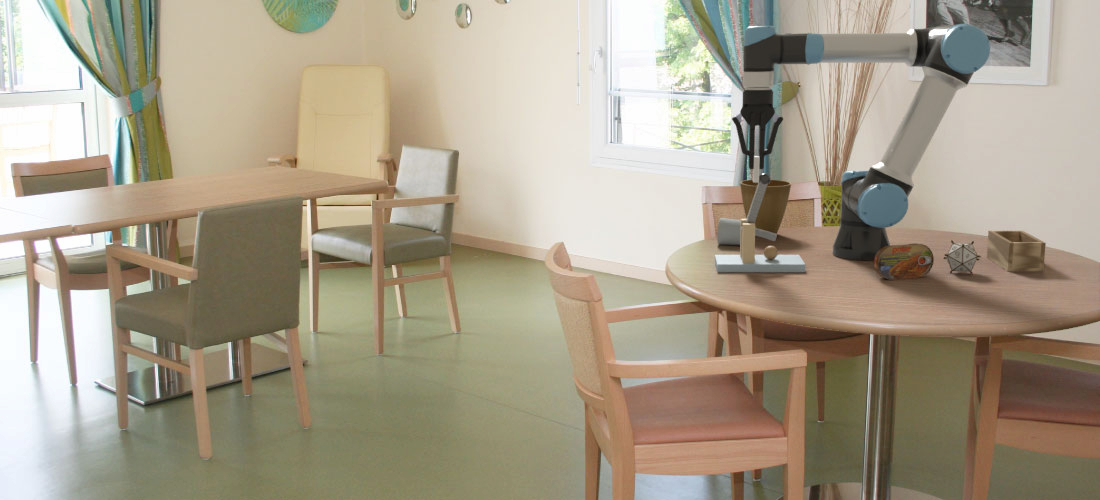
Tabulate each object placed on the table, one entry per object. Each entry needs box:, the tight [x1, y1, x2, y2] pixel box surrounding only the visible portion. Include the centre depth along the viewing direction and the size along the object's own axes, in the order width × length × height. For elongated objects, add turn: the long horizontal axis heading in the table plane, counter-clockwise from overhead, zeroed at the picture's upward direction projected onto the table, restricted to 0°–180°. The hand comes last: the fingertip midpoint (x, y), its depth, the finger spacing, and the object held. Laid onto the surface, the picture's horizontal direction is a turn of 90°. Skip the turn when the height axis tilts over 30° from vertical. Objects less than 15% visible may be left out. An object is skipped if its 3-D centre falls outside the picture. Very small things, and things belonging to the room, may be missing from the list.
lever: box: [741, 172, 778, 242], centre depth 264 cm, size 9×4×17 cm, turn 86°
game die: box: [943, 239, 982, 275], centre depth 256 cm, size 9×8×10 cm
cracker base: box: [714, 218, 806, 273], centre depth 267 cm, size 22×12×12 cm, turn 84°
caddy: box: [986, 230, 1047, 272], centre depth 264 cm, size 9×17×7 cm, turn 174°
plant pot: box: [739, 179, 792, 238], centre depth 309 cm, size 15×15×16 cm
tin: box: [873, 243, 935, 281], centre depth 252 cm, size 15×3×8 cm, turn 102°
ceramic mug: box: [716, 217, 741, 246], centre depth 298 cm, size 11×8×8 cm
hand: (755, 181), depth 263 cm, fingers closed
